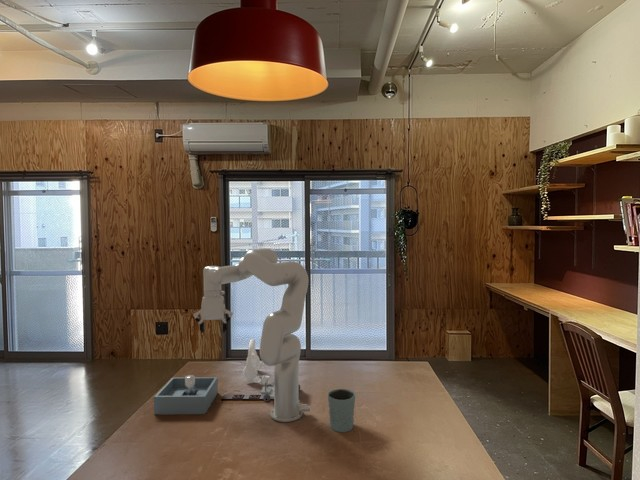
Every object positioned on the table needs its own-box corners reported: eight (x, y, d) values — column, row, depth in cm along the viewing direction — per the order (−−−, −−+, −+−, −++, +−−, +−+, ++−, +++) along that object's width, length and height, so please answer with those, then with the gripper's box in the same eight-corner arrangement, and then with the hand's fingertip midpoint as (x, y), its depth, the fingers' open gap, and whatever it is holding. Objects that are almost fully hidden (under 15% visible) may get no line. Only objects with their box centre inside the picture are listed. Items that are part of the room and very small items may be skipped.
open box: (217, 392, 178) (217, 377, 178) (205, 414, 158) (205, 396, 158) (172, 393, 178) (172, 377, 178) (154, 414, 158) (153, 396, 158)
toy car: (256, 379, 169) (260, 369, 181) (256, 401, 170) (260, 390, 181) (299, 378, 170) (300, 368, 181) (299, 401, 170) (300, 390, 181)
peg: (193, 401, 169) (193, 378, 169) (183, 401, 169) (183, 378, 169) (196, 397, 173) (196, 374, 173) (187, 397, 173) (186, 374, 173)
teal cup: (332, 434, 142) (332, 401, 142) (324, 421, 152) (324, 390, 152) (359, 430, 145) (359, 398, 145) (349, 417, 155) (349, 387, 154)
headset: (257, 384, 187) (256, 346, 187) (241, 385, 187) (241, 347, 186) (260, 369, 207) (259, 335, 207) (246, 369, 207) (246, 335, 206)
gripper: (233, 292, 183) (234, 329, 184) (195, 292, 182) (196, 330, 183) (230, 294, 176) (231, 333, 176) (190, 295, 175) (191, 334, 175)
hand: (213, 331), depth 180 cm, fingers open, 9 cm apart
